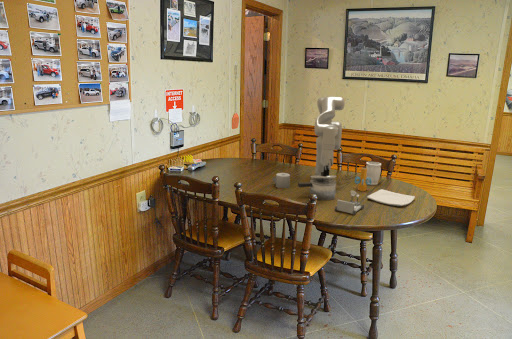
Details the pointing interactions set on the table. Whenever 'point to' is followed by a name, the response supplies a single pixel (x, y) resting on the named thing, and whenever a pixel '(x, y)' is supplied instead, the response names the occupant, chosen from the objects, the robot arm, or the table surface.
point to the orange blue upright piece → (363, 180)
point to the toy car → (349, 205)
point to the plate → (391, 198)
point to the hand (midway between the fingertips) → (326, 175)
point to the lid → (323, 176)
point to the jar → (373, 172)
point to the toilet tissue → (282, 180)
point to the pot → (321, 187)
